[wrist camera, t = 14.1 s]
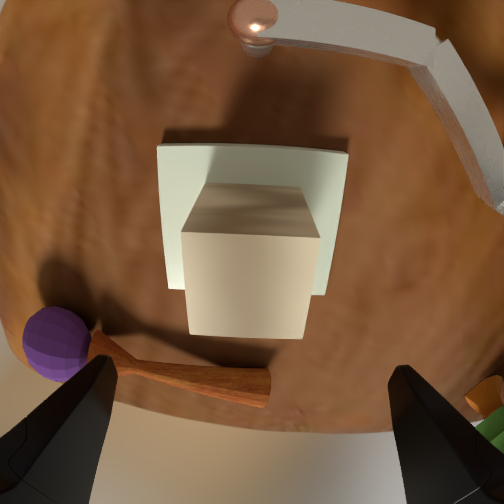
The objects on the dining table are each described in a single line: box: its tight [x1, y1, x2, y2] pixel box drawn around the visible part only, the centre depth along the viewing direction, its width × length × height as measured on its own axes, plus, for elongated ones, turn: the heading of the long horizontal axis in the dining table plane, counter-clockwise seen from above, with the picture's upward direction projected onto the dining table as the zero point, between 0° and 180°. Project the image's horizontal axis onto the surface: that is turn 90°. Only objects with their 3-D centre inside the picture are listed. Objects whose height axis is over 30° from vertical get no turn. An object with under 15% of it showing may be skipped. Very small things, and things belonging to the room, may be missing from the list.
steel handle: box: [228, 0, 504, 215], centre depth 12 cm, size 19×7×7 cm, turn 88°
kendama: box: [23, 306, 271, 408], centre depth 22 cm, size 6×6×20 cm
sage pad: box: [157, 143, 348, 295], centre depth 18 cm, size 10×9×1 cm
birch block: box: [181, 183, 321, 339], centre depth 15 cm, size 5×5×6 cm
